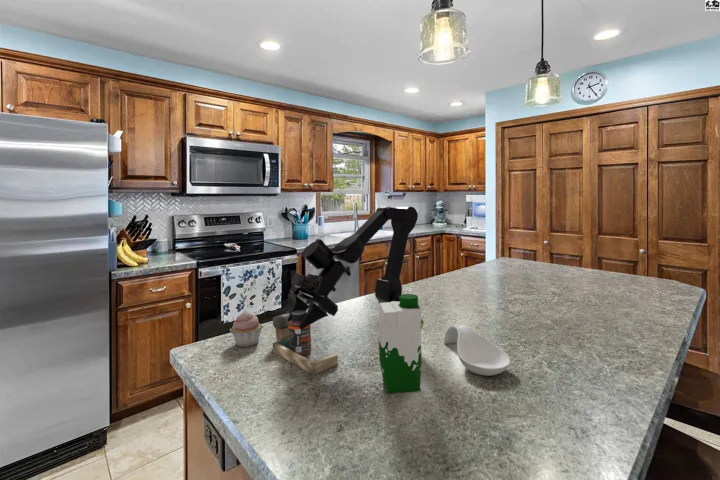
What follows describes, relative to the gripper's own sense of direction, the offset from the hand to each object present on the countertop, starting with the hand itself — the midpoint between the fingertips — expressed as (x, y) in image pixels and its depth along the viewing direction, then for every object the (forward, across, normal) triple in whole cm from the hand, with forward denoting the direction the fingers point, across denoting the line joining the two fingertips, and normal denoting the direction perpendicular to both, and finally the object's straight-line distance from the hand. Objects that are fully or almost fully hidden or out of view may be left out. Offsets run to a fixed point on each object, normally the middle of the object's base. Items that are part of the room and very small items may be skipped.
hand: (294, 325), depth 100 cm
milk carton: (-2, +31, +13) cm, 33 cm away
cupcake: (+11, -16, 0) cm, 20 cm away
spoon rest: (-17, +32, +30) cm, 47 cm away
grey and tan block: (+5, -8, +6) cm, 12 cm away
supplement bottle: (+5, 0, +7) cm, 8 cm away
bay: (+5, +4, +6) cm, 9 cm away
